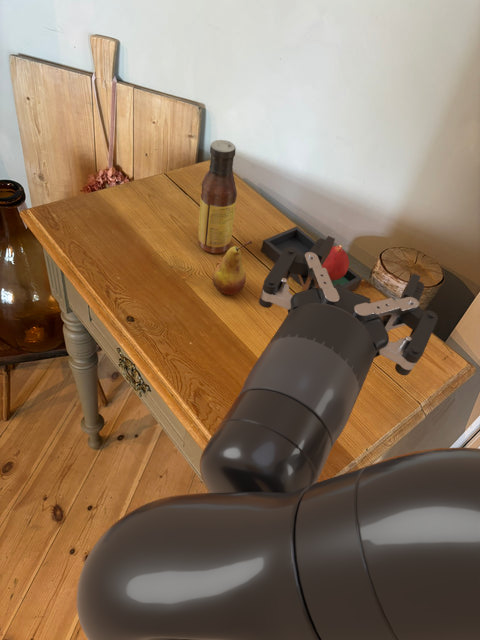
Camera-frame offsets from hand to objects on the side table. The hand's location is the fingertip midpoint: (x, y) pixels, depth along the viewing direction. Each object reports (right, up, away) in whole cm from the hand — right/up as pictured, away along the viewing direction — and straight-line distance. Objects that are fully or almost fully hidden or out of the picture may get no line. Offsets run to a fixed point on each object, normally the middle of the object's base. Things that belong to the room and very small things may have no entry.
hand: (369, 262), depth 44 cm
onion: (+3, +2, +41) cm, 41 cm away
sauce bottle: (-18, +9, +44) cm, 48 cm away
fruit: (-15, 0, +36) cm, 39 cm away
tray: (+1, +4, +43) cm, 43 cm away
